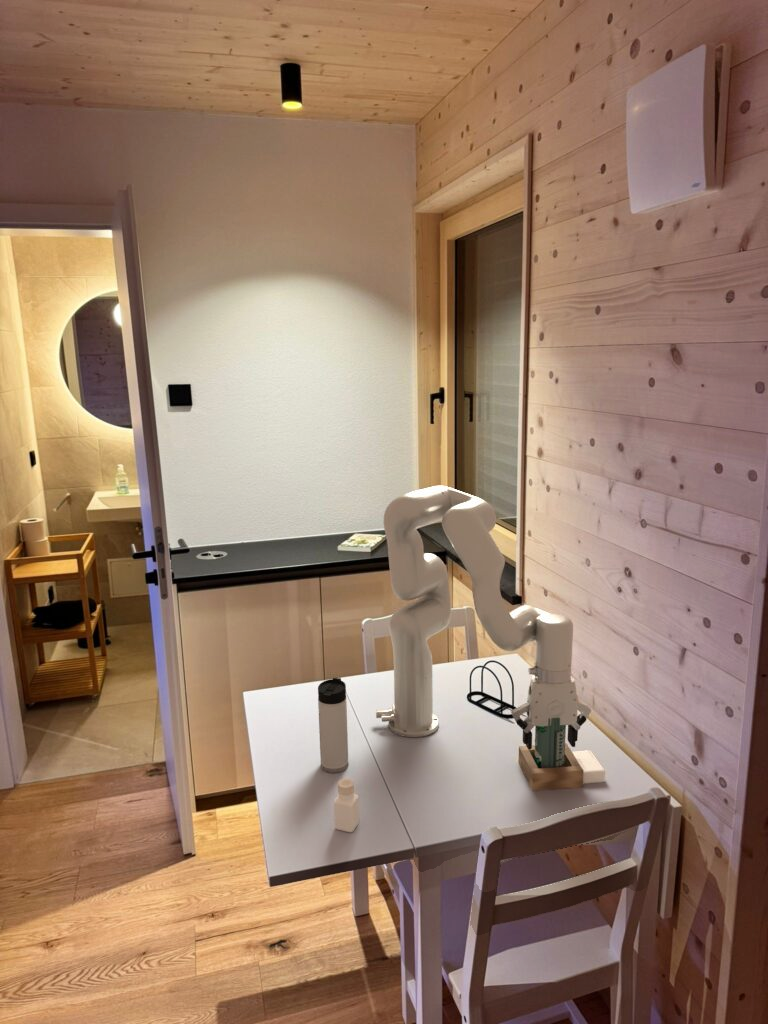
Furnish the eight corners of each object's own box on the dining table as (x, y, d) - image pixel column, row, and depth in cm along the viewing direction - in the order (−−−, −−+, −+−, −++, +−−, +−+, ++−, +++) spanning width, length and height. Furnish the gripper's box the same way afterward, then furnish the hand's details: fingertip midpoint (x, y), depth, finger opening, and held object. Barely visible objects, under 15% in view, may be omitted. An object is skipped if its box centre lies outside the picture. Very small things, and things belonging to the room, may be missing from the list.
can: (541, 763, 164) (543, 702, 161) (567, 772, 161) (569, 709, 158) (530, 776, 159) (532, 713, 156) (556, 785, 156) (558, 721, 153)
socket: (532, 790, 154) (532, 773, 153) (518, 762, 165) (518, 746, 164) (582, 787, 155) (583, 770, 154) (565, 759, 166) (566, 743, 165)
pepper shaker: (333, 830, 143) (332, 786, 141) (342, 818, 146) (340, 775, 144) (352, 834, 141) (351, 790, 139) (360, 822, 145) (359, 779, 143)
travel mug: (353, 760, 167) (350, 679, 163) (342, 775, 161) (339, 692, 157) (328, 755, 169) (325, 675, 165) (316, 770, 163) (312, 688, 159)
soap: (605, 783, 157) (606, 770, 156) (581, 785, 156) (581, 772, 156) (590, 760, 166) (590, 748, 165) (566, 762, 165) (567, 750, 164)
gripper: (517, 682, 151) (515, 756, 154) (598, 678, 152) (594, 752, 156) (508, 666, 158) (506, 738, 162) (586, 663, 159) (582, 734, 163)
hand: (549, 745), depth 159 cm, fingers open, 9 cm apart
